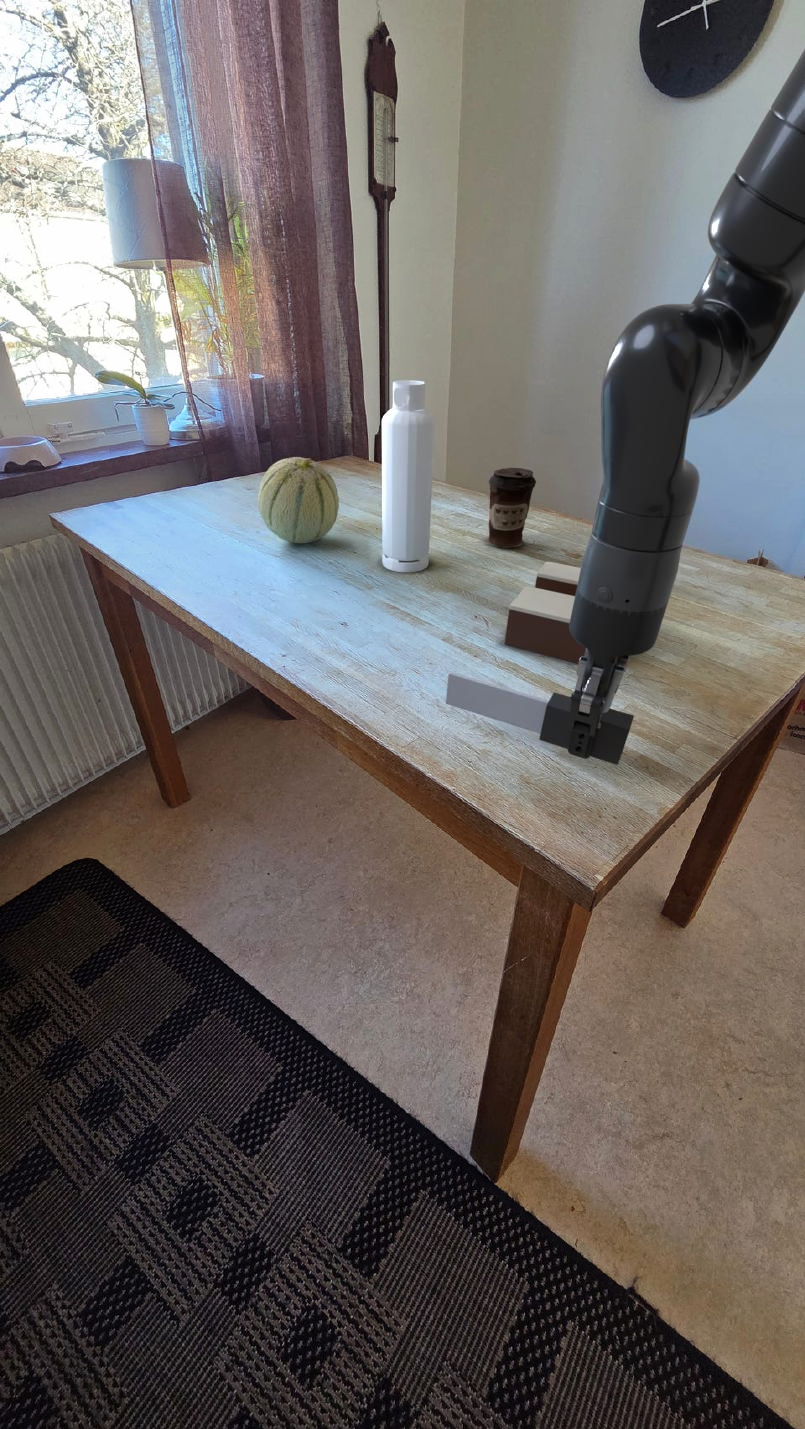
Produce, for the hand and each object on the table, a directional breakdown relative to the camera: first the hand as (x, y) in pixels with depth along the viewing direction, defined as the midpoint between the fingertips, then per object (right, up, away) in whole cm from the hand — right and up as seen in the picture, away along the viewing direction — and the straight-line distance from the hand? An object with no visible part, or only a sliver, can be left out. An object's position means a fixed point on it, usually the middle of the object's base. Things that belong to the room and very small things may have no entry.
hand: (582, 744), depth 61 cm
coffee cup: (+1, +35, +53) cm, 64 cm away
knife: (-5, +2, +2) cm, 6 cm away
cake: (+3, +13, +22) cm, 26 cm away
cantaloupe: (-37, +36, +52) cm, 74 cm away
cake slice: (+8, +19, +30) cm, 36 cm away
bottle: (-18, +30, +44) cm, 56 cm away
